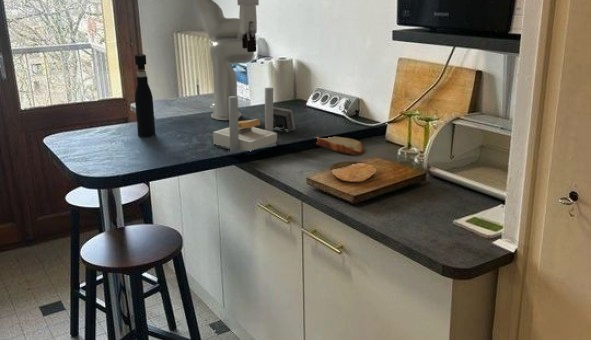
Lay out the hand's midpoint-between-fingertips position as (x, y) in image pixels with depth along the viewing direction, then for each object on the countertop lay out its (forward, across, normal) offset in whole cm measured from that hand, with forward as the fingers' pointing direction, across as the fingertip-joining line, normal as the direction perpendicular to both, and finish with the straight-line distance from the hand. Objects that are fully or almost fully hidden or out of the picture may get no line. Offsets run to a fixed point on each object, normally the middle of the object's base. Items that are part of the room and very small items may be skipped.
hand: (249, 50), depth 207 cm
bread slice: (+33, +22, +28) cm, 48 cm away
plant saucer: (+34, +50, +23) cm, 64 cm away
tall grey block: (+32, +10, +5) cm, 34 cm away
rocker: (+24, +13, -5) cm, 28 cm away
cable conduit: (+32, +21, -10) cm, 40 cm away
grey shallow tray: (+32, +13, -5) cm, 35 cm away
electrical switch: (+32, -2, +13) cm, 35 cm away
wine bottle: (+32, -8, -39) cm, 51 cm away
